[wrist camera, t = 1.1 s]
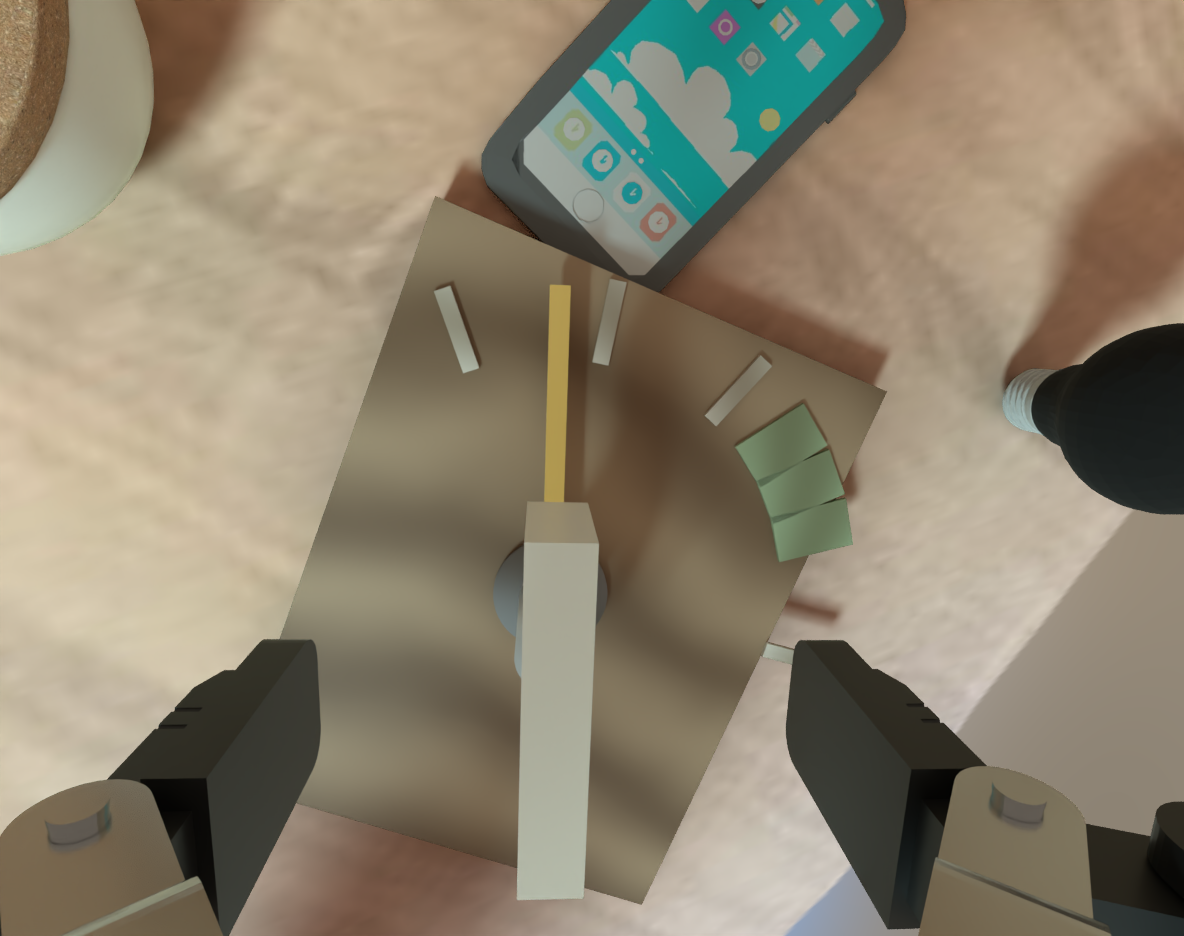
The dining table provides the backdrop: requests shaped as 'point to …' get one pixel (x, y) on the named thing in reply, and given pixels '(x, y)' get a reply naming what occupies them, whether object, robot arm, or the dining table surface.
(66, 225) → the lidded bowl
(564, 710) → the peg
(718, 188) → the smartphone
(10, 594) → the dining table surface
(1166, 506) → the light bulb
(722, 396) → the tuner board
